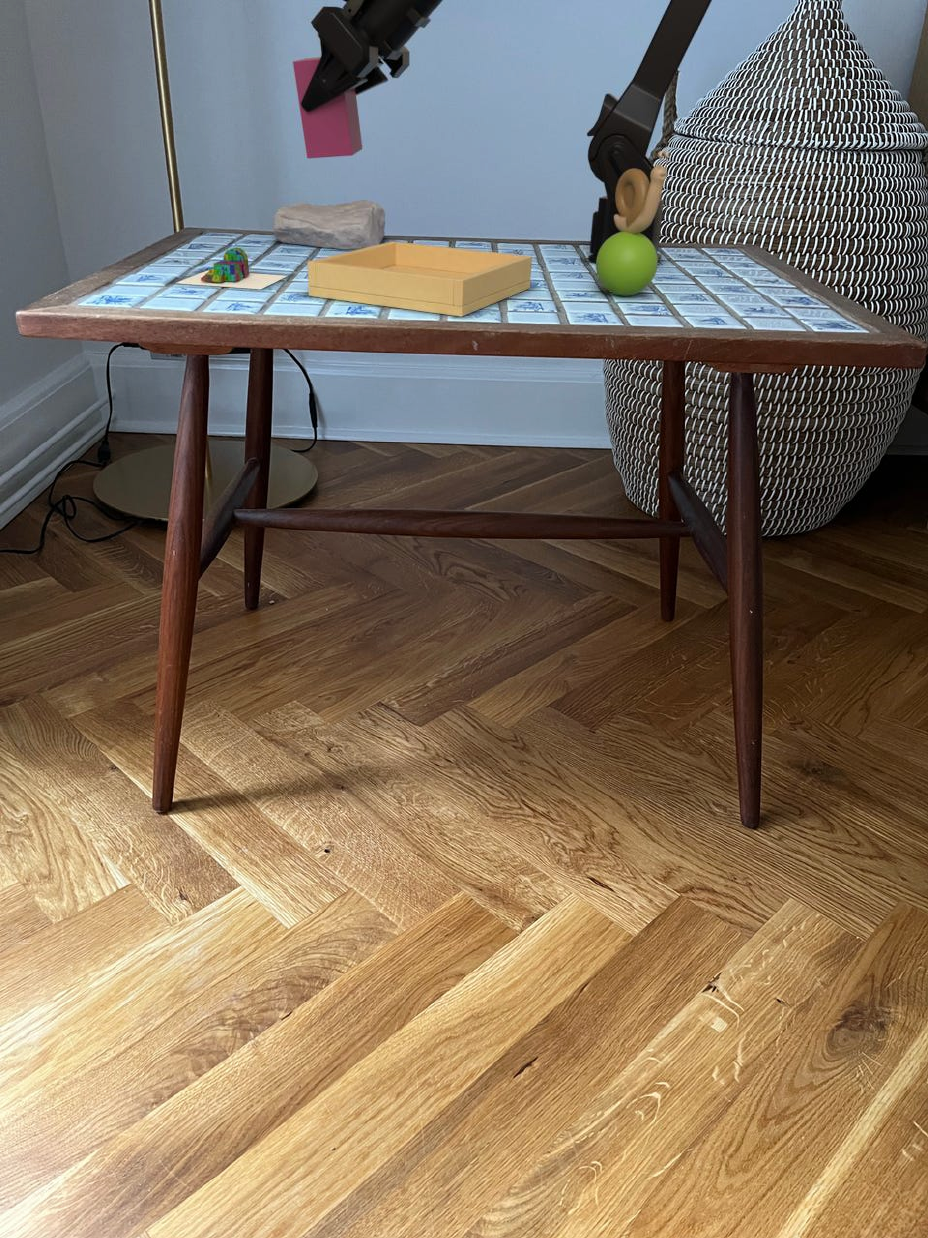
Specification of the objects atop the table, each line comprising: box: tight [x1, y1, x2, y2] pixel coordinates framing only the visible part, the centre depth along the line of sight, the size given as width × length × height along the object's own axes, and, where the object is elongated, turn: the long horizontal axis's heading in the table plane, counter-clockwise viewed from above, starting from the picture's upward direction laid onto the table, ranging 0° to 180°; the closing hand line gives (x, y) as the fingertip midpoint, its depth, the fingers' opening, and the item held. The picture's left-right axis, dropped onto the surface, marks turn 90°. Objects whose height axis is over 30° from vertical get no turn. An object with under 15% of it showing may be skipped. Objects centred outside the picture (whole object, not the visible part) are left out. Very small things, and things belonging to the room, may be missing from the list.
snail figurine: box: [595, 150, 672, 297], centre depth 83 cm, size 5×6×12 cm
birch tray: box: [307, 240, 533, 318], centre depth 84 cm, size 15×15×3 cm
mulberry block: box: [292, 56, 363, 159], centre depth 101 cm, size 5×5×9 cm
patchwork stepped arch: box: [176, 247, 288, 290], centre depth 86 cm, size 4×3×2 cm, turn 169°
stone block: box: [273, 199, 386, 251], centre depth 107 cm, size 12×5×10 cm
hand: (312, 107), depth 101 cm, fingers closed on mulberry block, 5 cm apart
